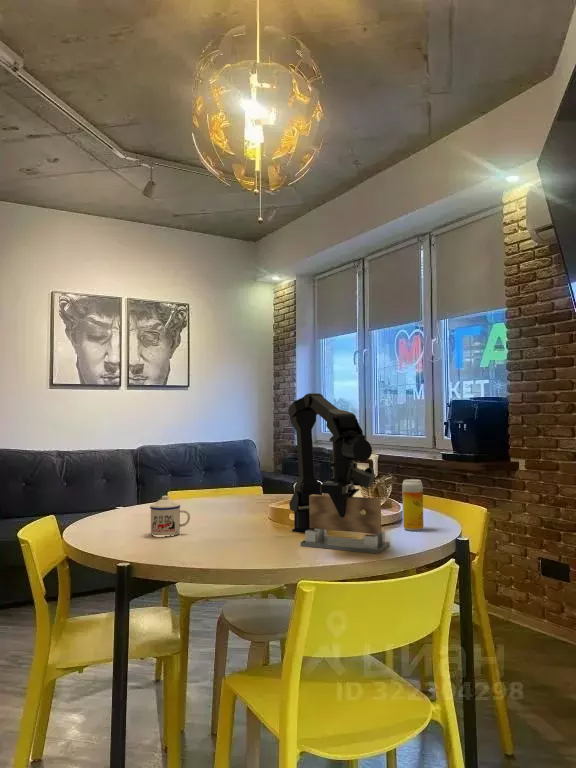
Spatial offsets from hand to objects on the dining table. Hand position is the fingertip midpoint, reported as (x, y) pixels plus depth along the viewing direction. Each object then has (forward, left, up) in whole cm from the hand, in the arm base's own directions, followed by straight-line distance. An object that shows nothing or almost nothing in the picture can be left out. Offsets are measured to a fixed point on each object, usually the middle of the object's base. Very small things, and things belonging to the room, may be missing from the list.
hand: (344, 516), depth 161 cm
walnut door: (0, 0, -4) cm, 4 cm away
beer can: (+11, +29, -8) cm, 32 cm away
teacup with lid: (-54, -7, -8) cm, 55 cm away
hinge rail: (0, 0, -8) cm, 8 cm away
